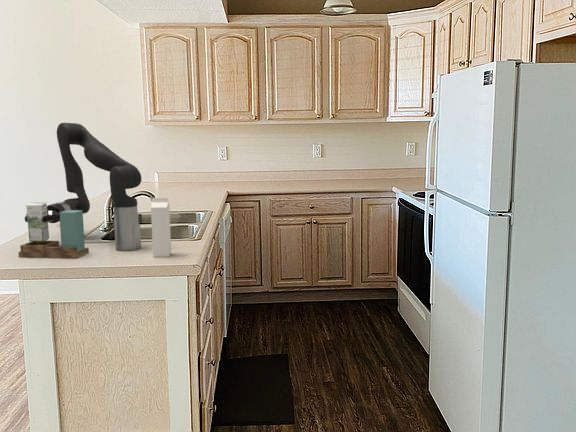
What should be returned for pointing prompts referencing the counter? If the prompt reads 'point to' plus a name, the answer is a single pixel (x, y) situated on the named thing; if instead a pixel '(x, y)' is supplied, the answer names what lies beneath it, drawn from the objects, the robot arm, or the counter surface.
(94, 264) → the counter surface
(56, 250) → the wooden compartment tray
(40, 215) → the syrup box
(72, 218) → the teal tall block
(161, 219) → the milk
